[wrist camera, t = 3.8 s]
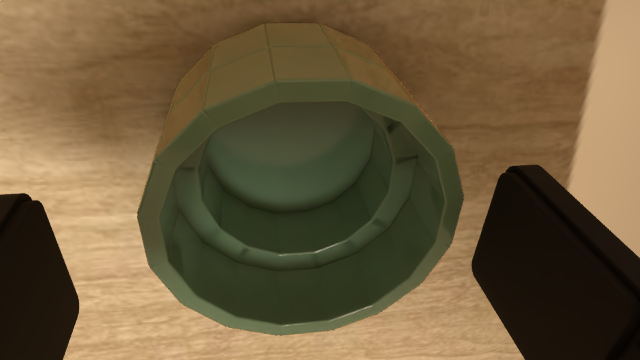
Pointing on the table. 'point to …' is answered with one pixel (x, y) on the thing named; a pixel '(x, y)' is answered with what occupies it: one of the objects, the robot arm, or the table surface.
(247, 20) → the table surface
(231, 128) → the bowl
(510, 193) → the robot arm
